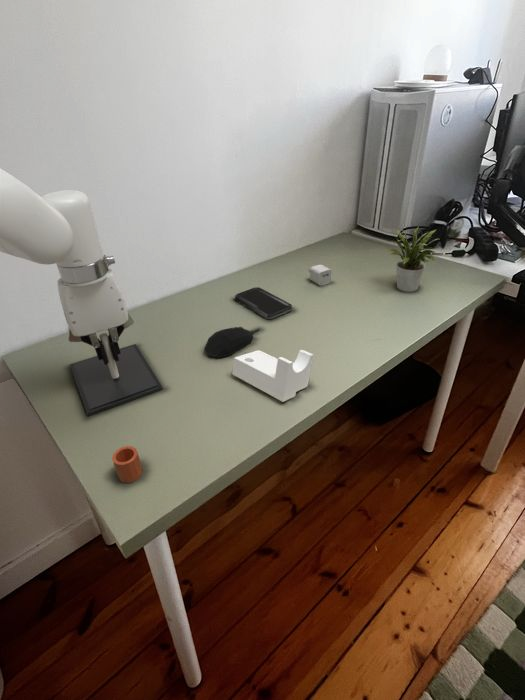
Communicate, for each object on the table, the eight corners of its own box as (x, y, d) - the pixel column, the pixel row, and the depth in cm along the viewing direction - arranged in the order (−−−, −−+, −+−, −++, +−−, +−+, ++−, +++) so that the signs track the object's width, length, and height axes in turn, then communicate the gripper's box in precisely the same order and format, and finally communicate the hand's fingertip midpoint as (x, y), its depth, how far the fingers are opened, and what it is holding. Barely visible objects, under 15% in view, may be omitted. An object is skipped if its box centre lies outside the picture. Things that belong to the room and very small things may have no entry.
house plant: (373, 298, 110) (380, 235, 101) (375, 275, 121) (381, 217, 112) (433, 301, 107) (445, 237, 98) (429, 278, 118) (440, 218, 109)
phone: (257, 286, 116) (293, 305, 106) (257, 290, 117) (293, 309, 106) (233, 295, 112) (268, 316, 102) (233, 299, 113) (268, 320, 103)
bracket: (306, 391, 82) (313, 354, 79) (282, 401, 77) (289, 363, 74) (256, 365, 89) (261, 331, 86) (232, 374, 84) (236, 338, 81)
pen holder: (122, 486, 64) (115, 468, 62) (115, 470, 67) (109, 452, 64) (145, 476, 65) (140, 458, 63) (138, 460, 68) (133, 442, 66)
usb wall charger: (319, 286, 117) (319, 272, 115) (304, 277, 122) (304, 264, 120) (331, 282, 119) (331, 268, 116) (316, 274, 124) (316, 260, 122)
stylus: (113, 381, 84) (100, 337, 79) (111, 377, 85) (98, 334, 80) (120, 378, 85) (107, 335, 79) (118, 375, 86) (106, 332, 80)
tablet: (88, 416, 77) (86, 412, 77) (70, 367, 91) (69, 363, 90) (163, 389, 83) (162, 385, 82) (136, 346, 96) (135, 343, 96)
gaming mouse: (268, 334, 98) (267, 319, 95) (217, 362, 89) (215, 346, 87) (249, 325, 101) (248, 310, 99) (199, 351, 93) (196, 335, 91)
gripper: (123, 252, 78) (144, 338, 88) (31, 273, 72) (64, 363, 82) (135, 265, 73) (155, 355, 83) (36, 289, 67) (71, 383, 77)
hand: (110, 358), depth 82 cm, fingers closed on stylus, 1 cm apart
